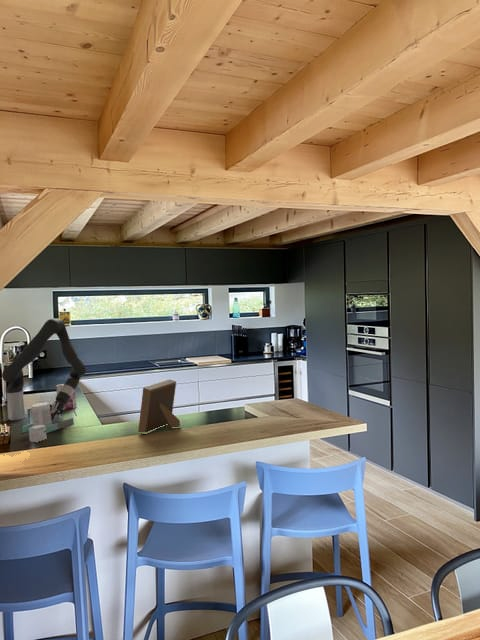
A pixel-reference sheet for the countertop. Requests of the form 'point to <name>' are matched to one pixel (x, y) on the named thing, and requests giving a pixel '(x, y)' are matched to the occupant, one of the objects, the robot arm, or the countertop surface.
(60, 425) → the chute
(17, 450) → the countertop surface
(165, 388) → the photo frame
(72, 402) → the candy bar box
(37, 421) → the supplement tub
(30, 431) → the skincare box
